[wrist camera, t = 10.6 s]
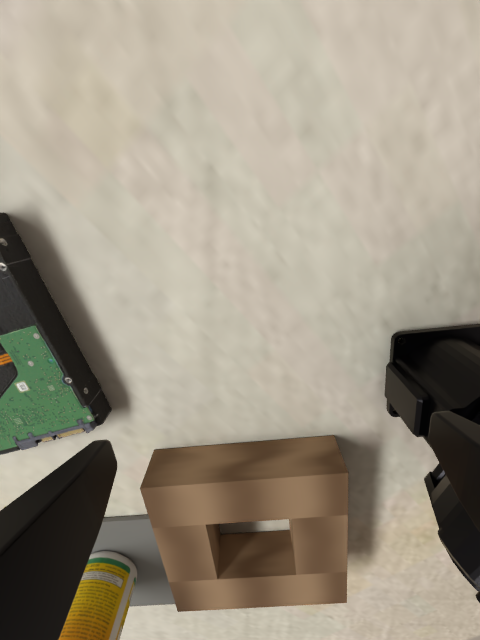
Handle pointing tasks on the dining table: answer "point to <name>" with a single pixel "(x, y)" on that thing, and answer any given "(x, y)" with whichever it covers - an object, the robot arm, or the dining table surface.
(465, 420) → the robot arm
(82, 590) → the supplement bottle
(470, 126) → the dining table surface
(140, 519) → the rubber mat
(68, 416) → the disk drive
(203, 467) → the socket block
